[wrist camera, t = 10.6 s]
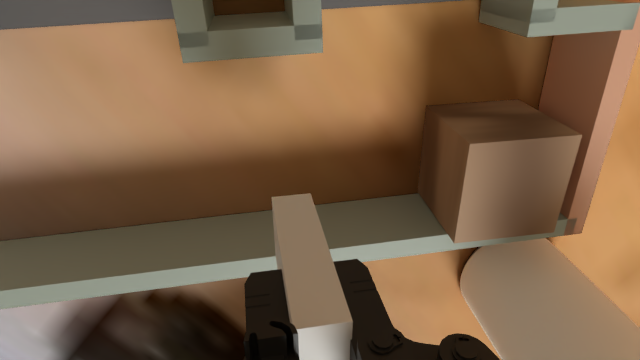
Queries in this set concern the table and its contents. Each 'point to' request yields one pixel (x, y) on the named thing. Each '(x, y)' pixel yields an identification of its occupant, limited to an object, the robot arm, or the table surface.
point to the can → (544, 306)
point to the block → (495, 169)
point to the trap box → (336, 218)
